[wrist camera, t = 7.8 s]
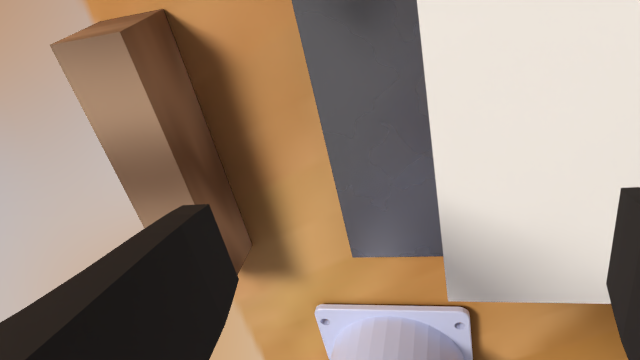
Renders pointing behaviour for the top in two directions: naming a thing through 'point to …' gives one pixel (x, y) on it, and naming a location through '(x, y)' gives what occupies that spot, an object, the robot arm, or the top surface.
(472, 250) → the board
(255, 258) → the top surface
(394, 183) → the plate
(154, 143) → the brown rectangular block
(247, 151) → the top surface
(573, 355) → the top surface
